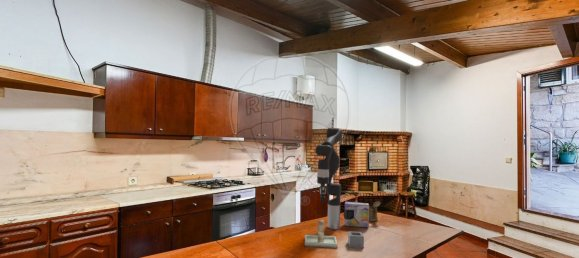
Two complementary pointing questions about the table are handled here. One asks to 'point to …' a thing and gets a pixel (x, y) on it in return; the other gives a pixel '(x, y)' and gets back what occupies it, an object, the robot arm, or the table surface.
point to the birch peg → (320, 230)
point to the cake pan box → (356, 214)
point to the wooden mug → (373, 211)
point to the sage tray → (328, 242)
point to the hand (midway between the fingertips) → (322, 201)
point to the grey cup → (355, 239)
